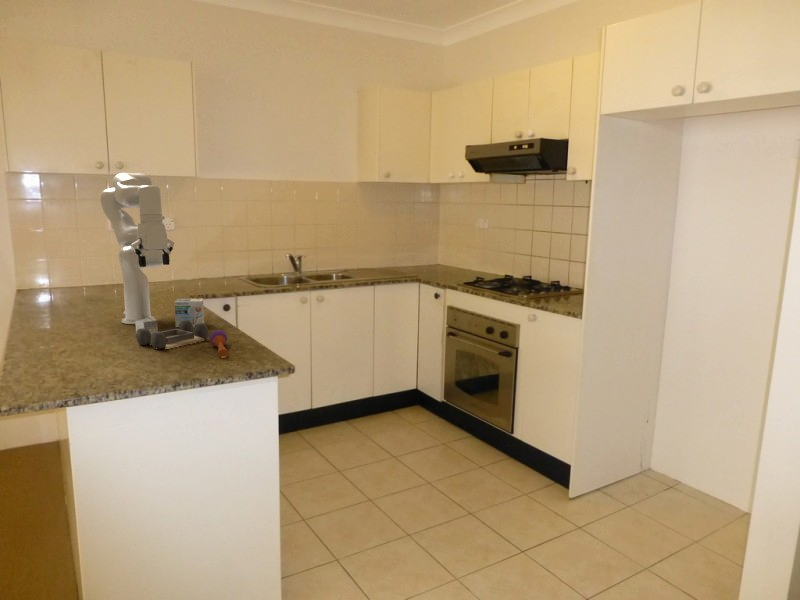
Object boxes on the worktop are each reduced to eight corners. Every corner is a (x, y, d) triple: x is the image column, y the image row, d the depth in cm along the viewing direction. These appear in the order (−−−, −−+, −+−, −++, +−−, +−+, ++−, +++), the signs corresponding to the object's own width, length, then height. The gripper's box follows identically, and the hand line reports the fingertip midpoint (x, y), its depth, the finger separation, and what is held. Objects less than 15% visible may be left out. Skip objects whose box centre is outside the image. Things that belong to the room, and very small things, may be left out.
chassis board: (135, 343, 204) (134, 327, 203) (182, 334, 219) (181, 318, 218) (161, 351, 195) (160, 333, 193) (208, 340, 210) (208, 324, 209)
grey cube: (136, 336, 215) (135, 320, 214) (149, 333, 220) (148, 318, 218) (144, 338, 212) (143, 322, 211) (158, 335, 216) (157, 320, 215)
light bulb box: (175, 328, 228) (173, 301, 227) (177, 324, 235) (175, 298, 233) (203, 327, 231) (202, 300, 229) (204, 323, 238) (203, 298, 236)
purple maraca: (211, 348, 185) (206, 330, 203) (215, 364, 187) (211, 345, 204) (230, 343, 187) (224, 325, 204) (234, 360, 188) (227, 341, 206)
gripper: (165, 219, 222) (168, 263, 224) (123, 219, 207) (127, 267, 210) (177, 219, 218) (181, 264, 220) (135, 219, 203) (139, 268, 206)
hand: (154, 265), depth 215 cm, fingers open, 9 cm apart
